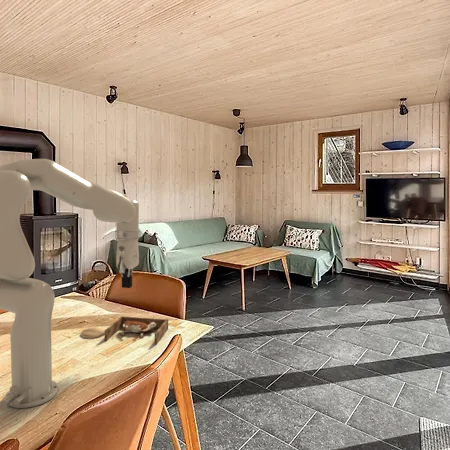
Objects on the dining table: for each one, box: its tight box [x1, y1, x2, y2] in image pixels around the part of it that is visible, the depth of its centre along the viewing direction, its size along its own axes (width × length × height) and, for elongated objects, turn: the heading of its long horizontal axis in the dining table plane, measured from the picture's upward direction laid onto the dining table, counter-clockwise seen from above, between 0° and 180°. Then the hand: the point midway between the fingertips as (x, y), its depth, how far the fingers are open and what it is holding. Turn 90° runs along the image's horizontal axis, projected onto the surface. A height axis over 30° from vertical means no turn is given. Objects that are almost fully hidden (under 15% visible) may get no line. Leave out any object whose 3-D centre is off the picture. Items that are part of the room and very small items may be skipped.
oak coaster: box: [80, 326, 106, 339], centre depth 140 cm, size 9×9×1 cm
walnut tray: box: [104, 316, 169, 346], centre depth 140 cm, size 16×20×4 cm
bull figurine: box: [120, 320, 156, 338], centre depth 142 cm, size 4×13×8 cm
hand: (126, 287), depth 128 cm, fingers closed
